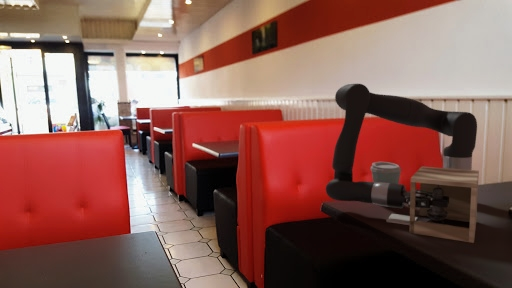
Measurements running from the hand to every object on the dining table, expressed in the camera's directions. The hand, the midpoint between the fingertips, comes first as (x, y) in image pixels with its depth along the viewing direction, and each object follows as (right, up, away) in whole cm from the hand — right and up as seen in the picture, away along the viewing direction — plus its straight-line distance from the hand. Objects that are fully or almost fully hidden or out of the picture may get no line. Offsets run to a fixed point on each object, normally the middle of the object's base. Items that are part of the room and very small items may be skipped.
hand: (448, 202), depth 111 cm
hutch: (-1, -8, +1) cm, 8 cm away
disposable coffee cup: (-9, -5, +27) cm, 29 cm away
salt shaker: (-2, -7, +2) cm, 8 cm away
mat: (-10, -7, +9) cm, 15 cm away
